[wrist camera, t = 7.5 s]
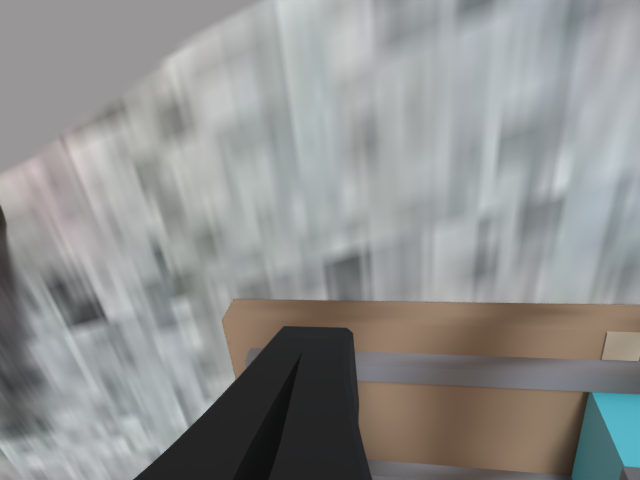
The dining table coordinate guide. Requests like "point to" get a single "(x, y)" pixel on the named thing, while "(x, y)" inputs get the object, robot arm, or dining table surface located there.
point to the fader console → (464, 378)
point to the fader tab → (609, 438)
